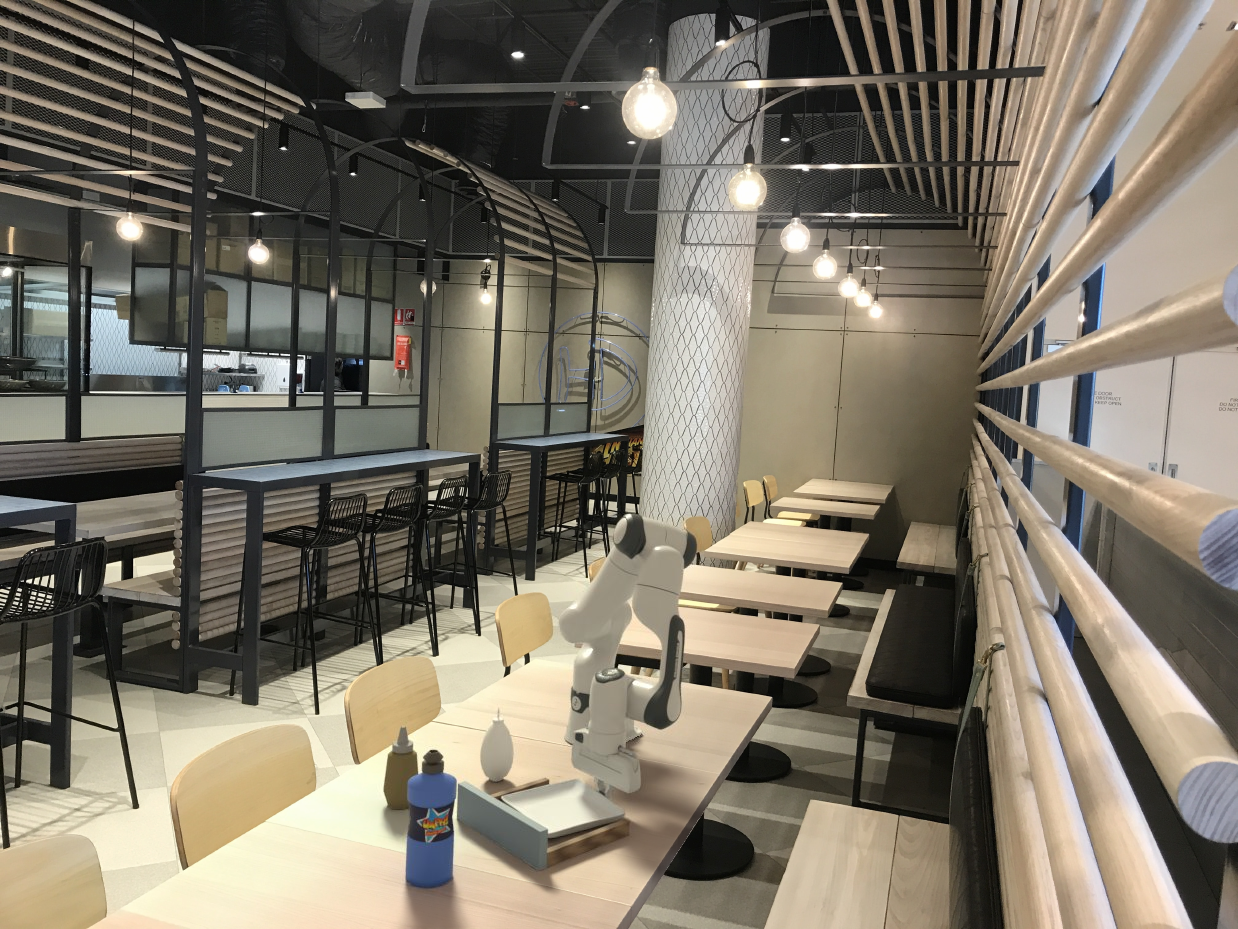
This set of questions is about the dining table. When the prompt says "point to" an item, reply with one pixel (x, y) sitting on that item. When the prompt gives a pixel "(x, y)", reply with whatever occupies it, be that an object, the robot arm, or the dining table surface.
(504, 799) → the salad plate
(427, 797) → the water bottle
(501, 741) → the white dust blower
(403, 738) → the squeeze bottle
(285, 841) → the dining table surface
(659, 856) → the dining table surface
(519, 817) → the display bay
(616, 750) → the robot arm
